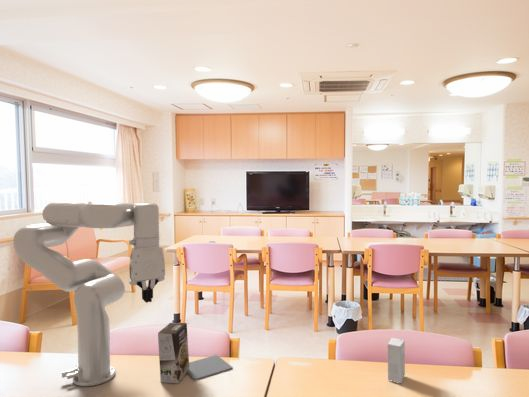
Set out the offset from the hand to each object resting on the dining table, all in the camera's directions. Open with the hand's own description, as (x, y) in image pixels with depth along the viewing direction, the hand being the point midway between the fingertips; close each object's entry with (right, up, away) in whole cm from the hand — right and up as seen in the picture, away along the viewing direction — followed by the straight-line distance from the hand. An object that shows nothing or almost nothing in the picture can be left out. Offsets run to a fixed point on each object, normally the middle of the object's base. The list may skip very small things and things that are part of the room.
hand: (147, 301), depth 116 cm
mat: (+17, -26, +12) cm, 33 cm away
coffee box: (+7, -26, +5) cm, 28 cm away
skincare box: (+79, -26, +3) cm, 83 cm away
